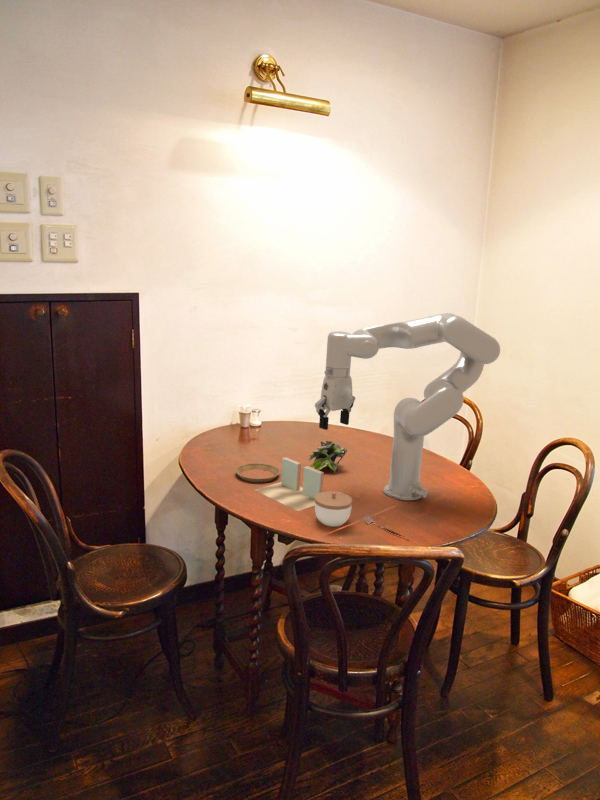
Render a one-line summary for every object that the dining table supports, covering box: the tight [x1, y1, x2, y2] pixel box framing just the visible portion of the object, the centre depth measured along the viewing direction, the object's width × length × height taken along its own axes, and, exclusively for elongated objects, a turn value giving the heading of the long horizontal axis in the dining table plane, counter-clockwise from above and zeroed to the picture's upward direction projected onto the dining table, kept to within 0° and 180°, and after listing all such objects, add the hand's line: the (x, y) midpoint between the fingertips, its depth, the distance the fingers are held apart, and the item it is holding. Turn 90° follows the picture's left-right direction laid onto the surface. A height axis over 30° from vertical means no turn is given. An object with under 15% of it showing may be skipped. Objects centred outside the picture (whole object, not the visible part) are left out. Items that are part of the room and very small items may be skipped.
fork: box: [362, 514, 403, 536], centre depth 175 cm, size 3×16×2 cm, turn 44°
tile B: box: [280, 456, 302, 491], centre depth 200 cm, size 7×2×9 cm, turn 44°
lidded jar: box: [314, 490, 354, 528], centre depth 176 cm, size 11×11×9 cm
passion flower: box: [308, 440, 348, 474], centre depth 217 cm, size 13×12×14 cm
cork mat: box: [254, 481, 315, 512], centre depth 195 cm, size 20×14×1 cm
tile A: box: [302, 465, 325, 499], centre depth 193 cm, size 7×2×9 cm, turn 44°
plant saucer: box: [235, 462, 281, 483], centre depth 209 cm, size 15×15×3 cm
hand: (334, 426), depth 194 cm, fingers open, 9 cm apart
